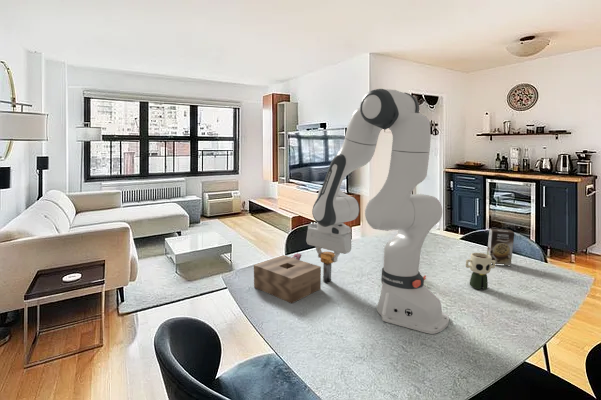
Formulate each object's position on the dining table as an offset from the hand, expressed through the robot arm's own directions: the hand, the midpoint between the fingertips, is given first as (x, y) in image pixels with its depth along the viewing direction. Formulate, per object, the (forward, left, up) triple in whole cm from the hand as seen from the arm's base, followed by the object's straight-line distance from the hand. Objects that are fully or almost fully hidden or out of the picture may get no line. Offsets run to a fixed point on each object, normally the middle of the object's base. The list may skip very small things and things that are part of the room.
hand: (327, 259), depth 136 cm
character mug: (-47, -35, -9) cm, 59 cm away
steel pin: (0, 0, -9) cm, 9 cm away
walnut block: (+7, +16, -9) cm, 20 cm away
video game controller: (+22, -4, -9) cm, 24 cm away
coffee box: (-46, -71, -9) cm, 85 cm away
